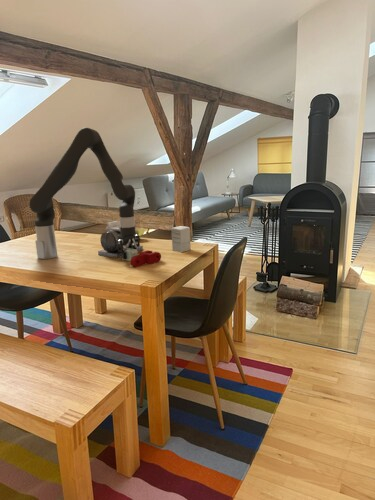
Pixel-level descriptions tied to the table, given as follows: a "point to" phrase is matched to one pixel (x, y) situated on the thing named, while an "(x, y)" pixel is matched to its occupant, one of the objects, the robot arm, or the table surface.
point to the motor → (112, 241)
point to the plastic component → (140, 232)
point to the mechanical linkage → (145, 258)
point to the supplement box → (181, 238)
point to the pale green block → (130, 253)
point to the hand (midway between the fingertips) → (129, 257)
